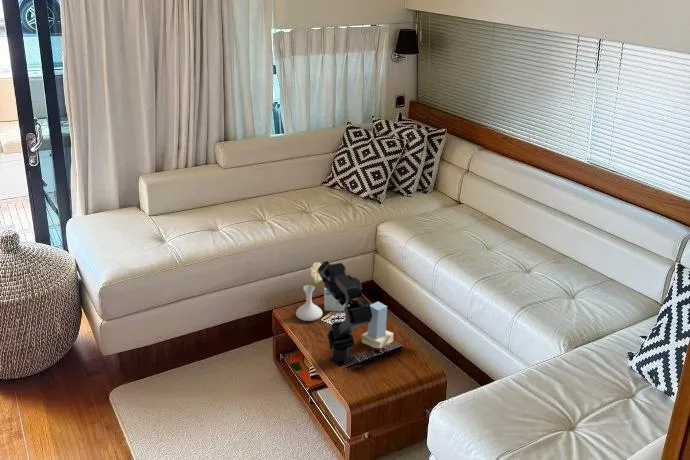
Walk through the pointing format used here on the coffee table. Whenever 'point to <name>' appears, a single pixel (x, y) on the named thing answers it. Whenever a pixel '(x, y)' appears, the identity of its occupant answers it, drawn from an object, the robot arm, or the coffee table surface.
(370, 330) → the blue pillar
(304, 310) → the flower in vase
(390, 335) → the maple block
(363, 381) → the coffee table surface
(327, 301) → the light bulb box
